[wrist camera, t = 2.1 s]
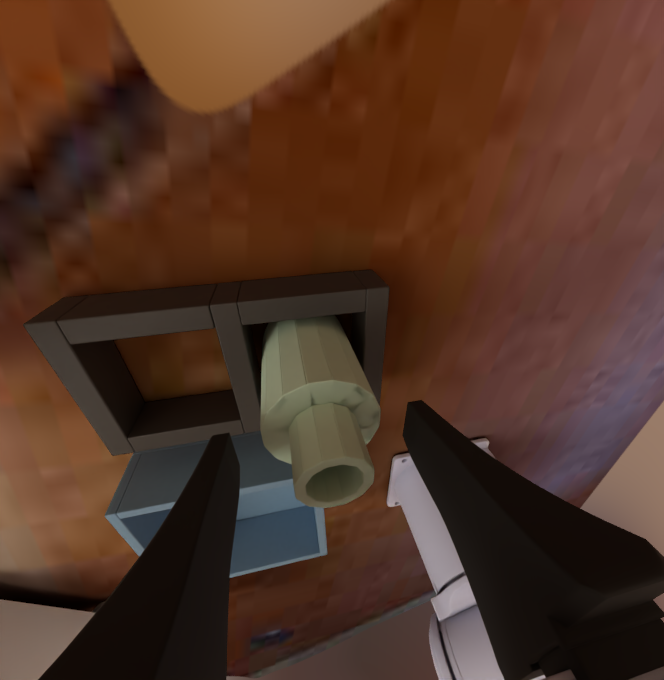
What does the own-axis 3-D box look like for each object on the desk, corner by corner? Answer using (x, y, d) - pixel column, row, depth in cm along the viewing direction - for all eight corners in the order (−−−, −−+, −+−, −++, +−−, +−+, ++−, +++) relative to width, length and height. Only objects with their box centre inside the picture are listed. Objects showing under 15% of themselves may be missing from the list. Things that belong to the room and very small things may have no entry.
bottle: (343, 299, 17) (412, 421, 9) (343, 367, 19) (397, 508, 11) (256, 309, 16) (247, 451, 8) (269, 378, 19) (271, 536, 11)
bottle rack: (372, 268, 16) (390, 286, 14) (366, 383, 21) (379, 411, 18) (62, 297, 14) (20, 324, 11) (131, 418, 18) (111, 456, 16)
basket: (311, 418, 21) (321, 473, 18) (319, 501, 27) (327, 554, 24) (134, 448, 20) (103, 516, 16) (184, 529, 25) (169, 592, 22)
